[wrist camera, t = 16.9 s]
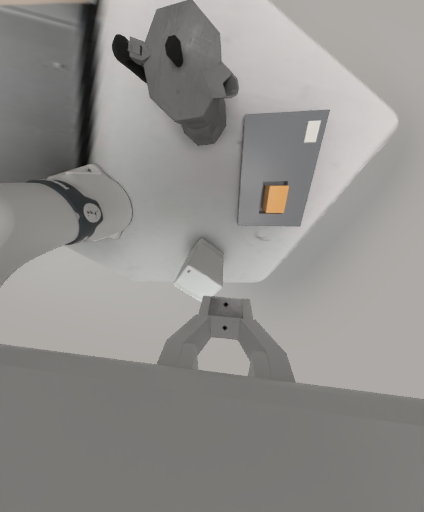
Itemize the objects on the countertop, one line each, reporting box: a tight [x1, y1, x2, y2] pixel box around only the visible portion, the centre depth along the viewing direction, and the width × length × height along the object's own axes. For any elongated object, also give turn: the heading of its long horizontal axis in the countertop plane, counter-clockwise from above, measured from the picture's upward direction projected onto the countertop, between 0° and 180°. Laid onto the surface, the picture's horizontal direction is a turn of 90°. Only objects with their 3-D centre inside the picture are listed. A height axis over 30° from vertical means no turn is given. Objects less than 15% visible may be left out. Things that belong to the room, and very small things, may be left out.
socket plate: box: [237, 110, 330, 226], centre depth 31 cm, size 14×20×4 cm
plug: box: [262, 185, 289, 213], centre depth 32 cm, size 4×5×6 cm
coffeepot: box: [112, 0, 239, 146], centre depth 22 cm, size 15×9×18 cm, turn 73°
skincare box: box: [173, 238, 224, 303], centre depth 36 cm, size 8×7×16 cm
